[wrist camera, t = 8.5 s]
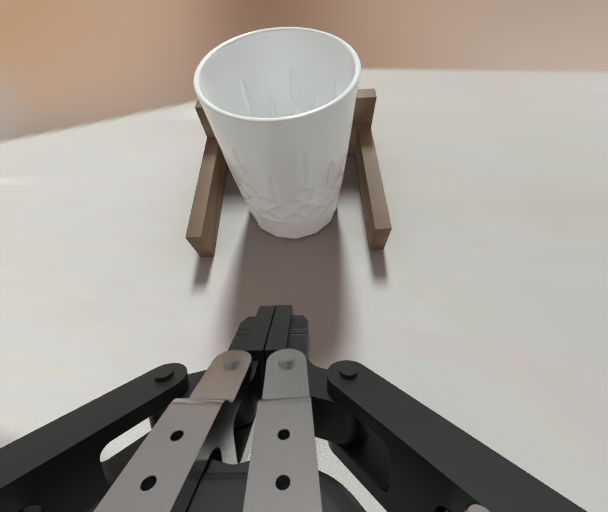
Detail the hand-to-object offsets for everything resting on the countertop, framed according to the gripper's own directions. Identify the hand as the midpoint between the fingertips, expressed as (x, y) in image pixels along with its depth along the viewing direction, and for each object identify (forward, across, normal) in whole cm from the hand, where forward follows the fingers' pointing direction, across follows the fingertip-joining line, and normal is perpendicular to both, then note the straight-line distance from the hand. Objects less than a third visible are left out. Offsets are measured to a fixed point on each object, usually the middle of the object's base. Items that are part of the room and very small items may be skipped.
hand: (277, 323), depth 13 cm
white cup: (+11, 0, -4) cm, 12 cm away
